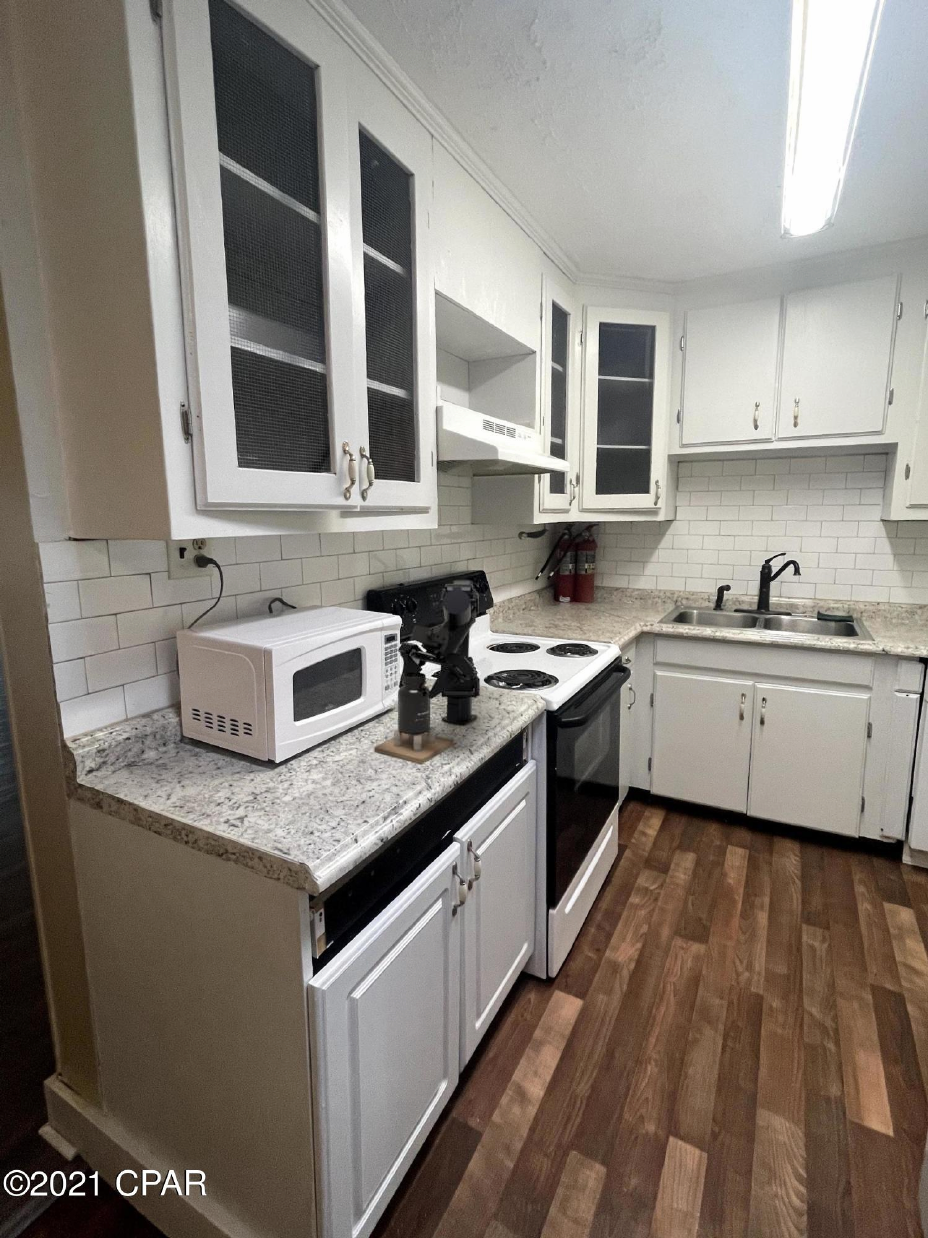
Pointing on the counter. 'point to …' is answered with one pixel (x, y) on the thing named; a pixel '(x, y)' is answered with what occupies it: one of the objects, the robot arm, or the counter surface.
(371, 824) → the counter surface
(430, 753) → the peg stand
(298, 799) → the counter surface
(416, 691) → the supplement bottle
